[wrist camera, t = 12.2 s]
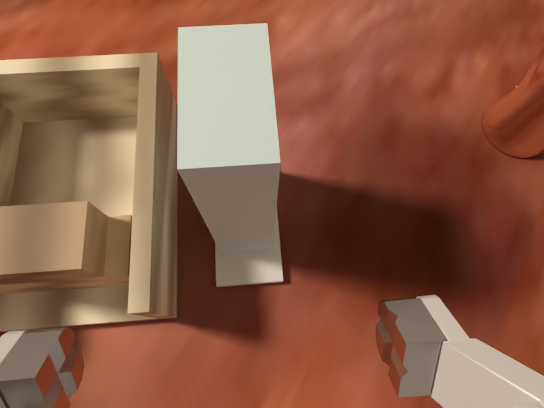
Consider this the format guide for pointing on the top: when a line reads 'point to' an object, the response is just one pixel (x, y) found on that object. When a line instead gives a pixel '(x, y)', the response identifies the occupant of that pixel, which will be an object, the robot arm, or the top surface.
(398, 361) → the robot arm
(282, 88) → the top surface
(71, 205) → the offcut short
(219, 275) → the felt pad
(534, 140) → the beer glass
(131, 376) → the top surface
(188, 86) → the pale green block
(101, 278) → the block
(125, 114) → the tray
